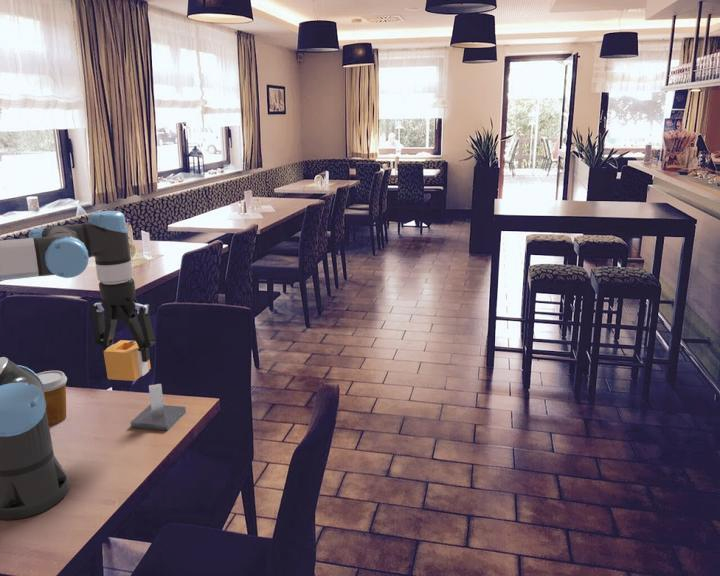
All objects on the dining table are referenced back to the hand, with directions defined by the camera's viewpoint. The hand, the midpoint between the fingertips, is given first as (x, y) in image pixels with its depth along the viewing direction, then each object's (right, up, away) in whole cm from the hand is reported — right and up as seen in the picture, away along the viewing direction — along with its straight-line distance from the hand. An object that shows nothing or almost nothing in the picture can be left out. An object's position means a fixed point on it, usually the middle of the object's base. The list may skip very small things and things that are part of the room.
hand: (129, 372), depth 142 cm
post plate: (+3, -14, +13) cm, 20 cm away
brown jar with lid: (-25, -14, +14) cm, 32 cm away
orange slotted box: (0, 0, 0) cm, 0 cm away
